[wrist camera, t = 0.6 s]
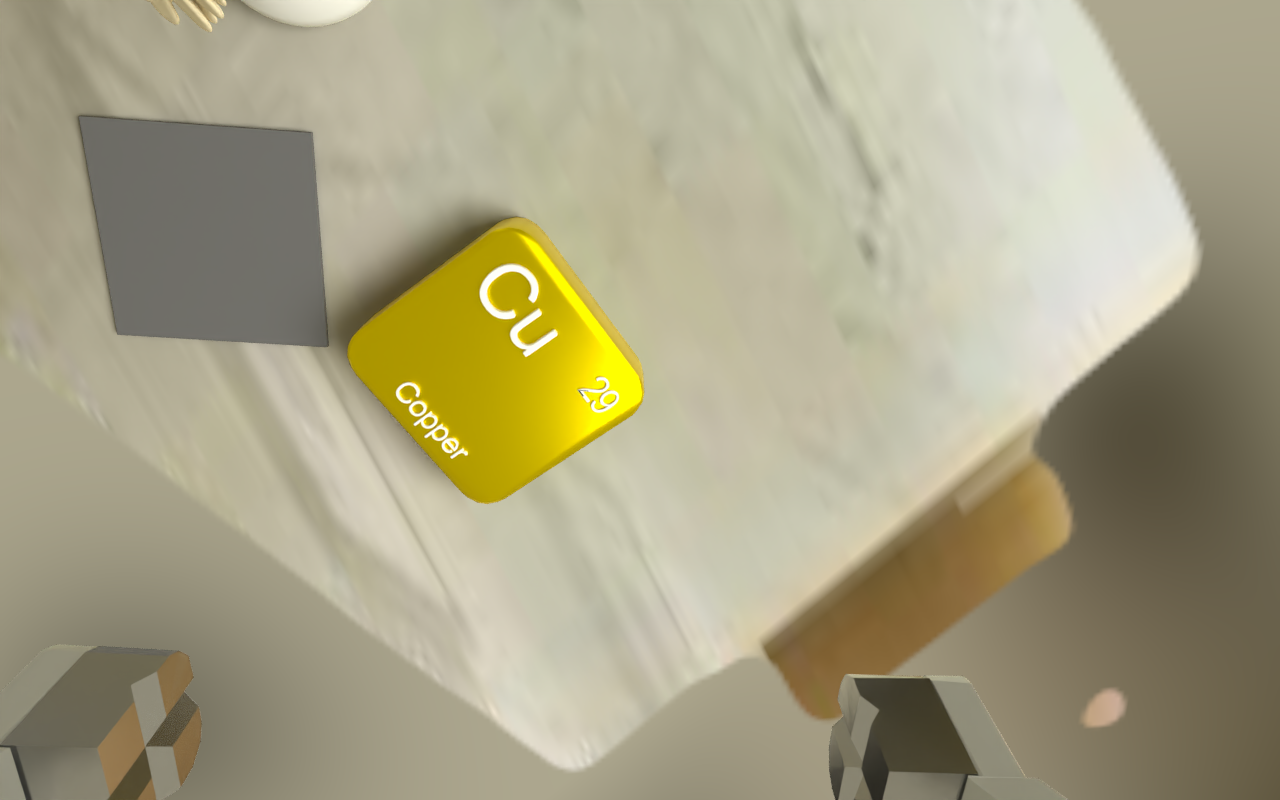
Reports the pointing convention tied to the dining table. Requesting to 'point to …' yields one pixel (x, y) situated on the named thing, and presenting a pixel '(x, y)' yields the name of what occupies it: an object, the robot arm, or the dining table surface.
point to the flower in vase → (266, 11)
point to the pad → (208, 230)
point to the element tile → (499, 362)
